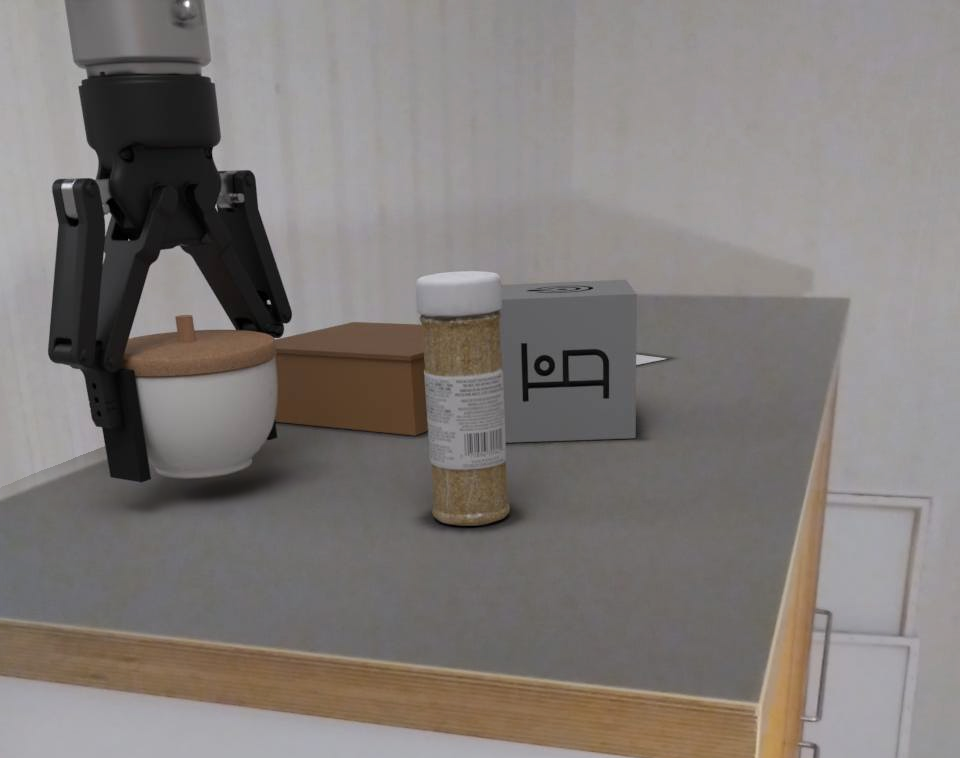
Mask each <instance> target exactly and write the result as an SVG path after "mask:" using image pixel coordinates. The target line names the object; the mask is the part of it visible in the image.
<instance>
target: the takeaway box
mask: <svg viewBox="0 0 960 758" xmlns="http://www.w3.org/2000/svg"><path fill="white" fill-rule="evenodd" d="M422 332H423V331H422V324H421V323H420V324H416V323H415V324H414V323H394V322H393V323H390V322H363V321H352V322H347V323H344V324H343V323H342V324H339V325H338V324H337V325H334V326H330V327H329V326H328V327H325V328H320V329H316V330H311V331H307V332H303V333H298V334H295V335H290V336H286V337H280V338H275V341H276V349H277V355H276V356H275V359H276V368H277V380H278V401H277V410H276V416H275V421H276V423H282V424H292V425H301V426H303V425H304V426H314V427H323V428H333V429H345V430H353V431H354V430H355V431H365V432H374V433H384V434H393V435H404V436H414V437H415V436H418V435H421V434H424V433H426V432H428V422H427V408H426V394H425V379H424V370H425V362H424V349H423V335H422Z"/></svg>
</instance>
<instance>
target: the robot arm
mask: <svg viewBox="0 0 960 758" xmlns="http://www.w3.org/2000/svg"><path fill="white" fill-rule="evenodd" d="M64 7H65V13H66V20H67V27H68V33H69V40H70V48H71V53H72V61H73V63H74V64H75V66H77V68H79V69H81V70H85V73H86V77H87V78H84V79H81V81H80V82H81V85H78V86H77V87H78V95H79V100H80V106H81V111H82V113H81V114H82V118H83V119H82V120H83V126H84V131H85V137H86V142H87V144H88V146H89V147H90V148H91V149H92V150H94V151H95V153H96V157H97V161H98V165H97V172H96V176H95V179H93V178H91V177H81V178H77V177H76V178H58V179H55V180H54V181H53V183H52V186H51V192H52V198H53V203H54V208H55V214H56V219H57V223H58V225H57V237H56V249H55V262H54V274H53V275H54V276H53V285H52V286H53V287H52V296H51V310H50V322H49V332H48V333H49V334H48V346H47V355H48V358H49V360H50V361H51V362H52V363H55V364H57V365H58V364H59V365H64V366H68V367H71V368H72V369H75V370H80V372H81V373H82V374H83V377H84V381H85V387H86V393H87V398H88V405H89V409H90V411H89V412H90V415H91V417H90V418H91V420H92V421H93V423H94V425H95V427H97V428H101V430H102V435H103V441H104V442H103V443H104V447H105V453H106V459H107V465H108V469H109V471H108V472H109V477H110V478H113V479H118V480H126V481H130V482H137V483H144V482H147V481H150V480H152V476H151V471H150V470H151V469H150V463H149V462H148V456H147V450H146V443H145V437H144V431H143V424H142V418H141V411H140V405H139V399H138V392H137V386H136V379H135V373H134V370H130V369H119V368H120V366H121V363H122V359H123V356H124V353H125V349H126V346H127V342H128V339H129V338H130V335H131V332H132V328H133V324H134V321H135V318H136V316H137V311H138V308H139V306H140V305H139V304H140V301H141V297H142V295H143V291H144V288H145V284H146V280H147V278H148V273H149V270H150V267H151V265H153V264H154V263H155V262H157V260H158V259H159V257H160V254H161V251H164V250H172V249H174V248H176V247H180V248H181V250H182V251H184V252H185V253H186V254H188V255H189V256H190V257H192V259H193V261H194V263H195V265H196V266H197V268H198V269H199V271H200V272H201V275H202V276H203V278H204V280H205V281H206V282H207V284H208V286H209V288H210V289H211V291H212V292H213V294H214V296H215V297H216V299H217V301H218V303H219V304H220V306H221V308H222V309H223V311H224V312H225V314H226V316H227V317H228V319H229V321H230V322H231V324H232V326H233V328H235V329H234V330H246V331H255V332H261V333H265V334H268V335H271V336H272V337H274V339H280V338H282V337H283V335H284V333H285V326H284V325H285V324H289V323H290V322H291V321H292V318H293V311H292V307H291V305H290V302H289V299H288V296H287V292H286V289H285V286H284V283H283V280H282V276H281V273H280V270H279V268H278V265H277V261H276V258H275V255H274V253H273V249H272V246H271V243H270V240H269V237H268V234H267V231H266V228H265V225H264V221H263V219H262V216H261V213H260V210H259V202H258V201H259V200H258V190H257V181H256V176H255V174H254V172H252V170H249V169H239V170H236V169H235V170H218V168H217V166H216V163H215V160H214V157H213V149H214V148H215V147H216V146H218V145H219V144H220V142H221V140H222V139H221V138H222V133H221V125H220V116H219V108H218V100H217V99H218V98H217V91H216V89H217V88H216V83H214V82H212V78H211V77H210V76H204V75H202V72H203V71H202V68H204V67H207V66H208V65H209V64H210V63H211V62H212V54H211V44H210V37H209V28H208V19H207V11H206V3H205V0H64ZM109 214H110V215H111V216H110V218H109V222H108V226H107V229H106V220H105V215H109ZM104 254H105V255H104ZM268 301H269V303H268ZM275 439H278V431H277V422H276V421H275V420H274V423H273V427H272V429H271V431H270V434H269V436H268V438H267V440H266V441H271V440H275Z"/></svg>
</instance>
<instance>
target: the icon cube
mask: <svg viewBox="0 0 960 758" xmlns="http://www.w3.org/2000/svg"><path fill="white" fill-rule="evenodd" d="M501 290H502V308H501V309H500V310H499V311H500V313H501V317H500V321H499V328H500V341H501V359H502V370H503V387H504V411H505V440H506V443H507V444H508V443H533V442H534V443H535V442H536V443H539V442H564V441H565V442H566V441H594V440H597V441H598V440H621V439H622V440H623V439H624V440H625V439H636V434H637V433H636V432H637V431H636V429H637V428H636V427H637V425H636V424H637V421H636V419H637V365H636V354H637V324H638V323H637V322H638V321H637V320H638V319H637V317H638V307H637V306H638V294H637V292H636V291H635V289H634V288H633V287H632V285H631V284H630V283H629V282H628V280H627V279H609V280H608V279H606V280H605V279H603V280H582V281H559V282H557V281H556V282H538V283H537V282H536V283H535V282H534V283H512V284H511V283H510V284H501Z"/></svg>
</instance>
